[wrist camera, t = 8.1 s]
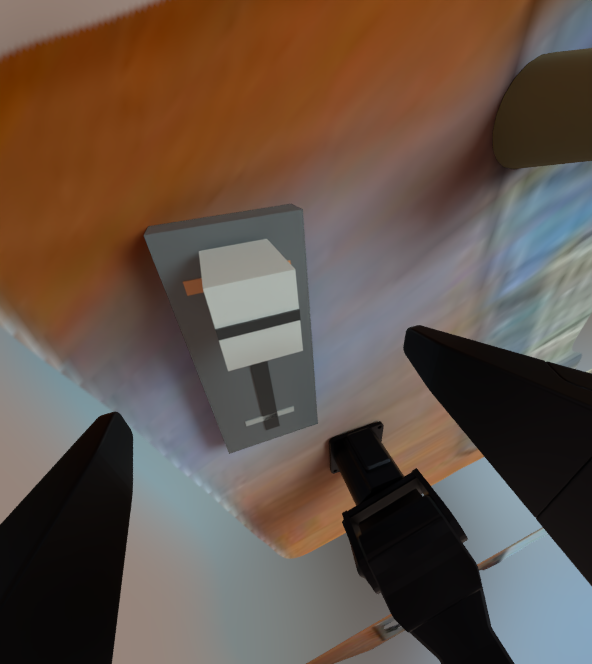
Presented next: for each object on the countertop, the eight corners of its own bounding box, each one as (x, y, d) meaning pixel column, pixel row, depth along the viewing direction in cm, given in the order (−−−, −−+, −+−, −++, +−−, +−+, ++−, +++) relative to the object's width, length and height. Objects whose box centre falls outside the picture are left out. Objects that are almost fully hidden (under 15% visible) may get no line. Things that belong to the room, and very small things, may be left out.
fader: (276, 305, 17) (303, 351, 13) (218, 319, 16) (228, 372, 12) (266, 238, 15) (296, 269, 11) (198, 251, 14) (202, 289, 10)
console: (310, 407, 27) (318, 424, 25) (226, 434, 25) (229, 454, 23) (291, 203, 16) (303, 209, 15) (148, 226, 15) (143, 235, 13)
